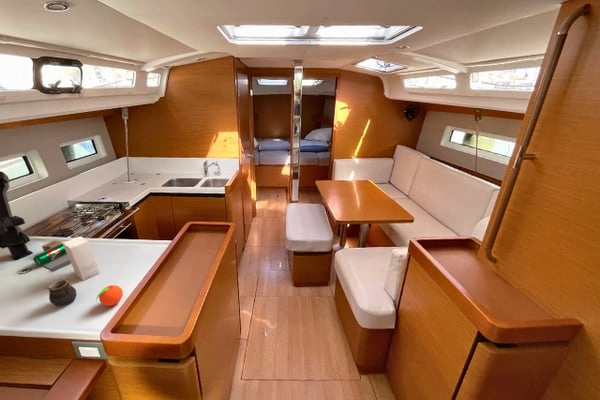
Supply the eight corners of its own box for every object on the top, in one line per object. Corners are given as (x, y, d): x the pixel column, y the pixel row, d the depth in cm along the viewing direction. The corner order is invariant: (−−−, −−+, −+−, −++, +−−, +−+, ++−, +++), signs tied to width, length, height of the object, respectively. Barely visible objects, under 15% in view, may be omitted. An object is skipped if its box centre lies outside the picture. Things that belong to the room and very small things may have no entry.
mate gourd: (83, 294, 99) (74, 273, 95) (67, 310, 92) (57, 287, 88) (64, 294, 99) (55, 273, 95) (47, 310, 92) (35, 287, 89)
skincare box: (100, 273, 111) (89, 241, 106) (82, 281, 106) (69, 248, 100) (92, 266, 116) (81, 235, 110) (74, 274, 111) (61, 242, 105)
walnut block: (45, 255, 125) (41, 246, 123) (56, 249, 129) (52, 240, 127) (54, 256, 124) (50, 247, 122) (65, 250, 128) (61, 241, 126)
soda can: (32, 261, 116) (62, 247, 126) (41, 268, 116) (70, 253, 126) (32, 254, 114) (62, 240, 124) (41, 261, 113) (71, 246, 124)
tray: (37, 263, 118) (36, 260, 118) (70, 248, 129) (69, 245, 129) (54, 271, 113) (52, 268, 112) (87, 255, 124) (86, 252, 123)
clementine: (105, 315, 90) (99, 298, 87) (94, 307, 93) (88, 291, 90) (129, 300, 97) (124, 284, 94) (118, 293, 100) (113, 278, 97)
